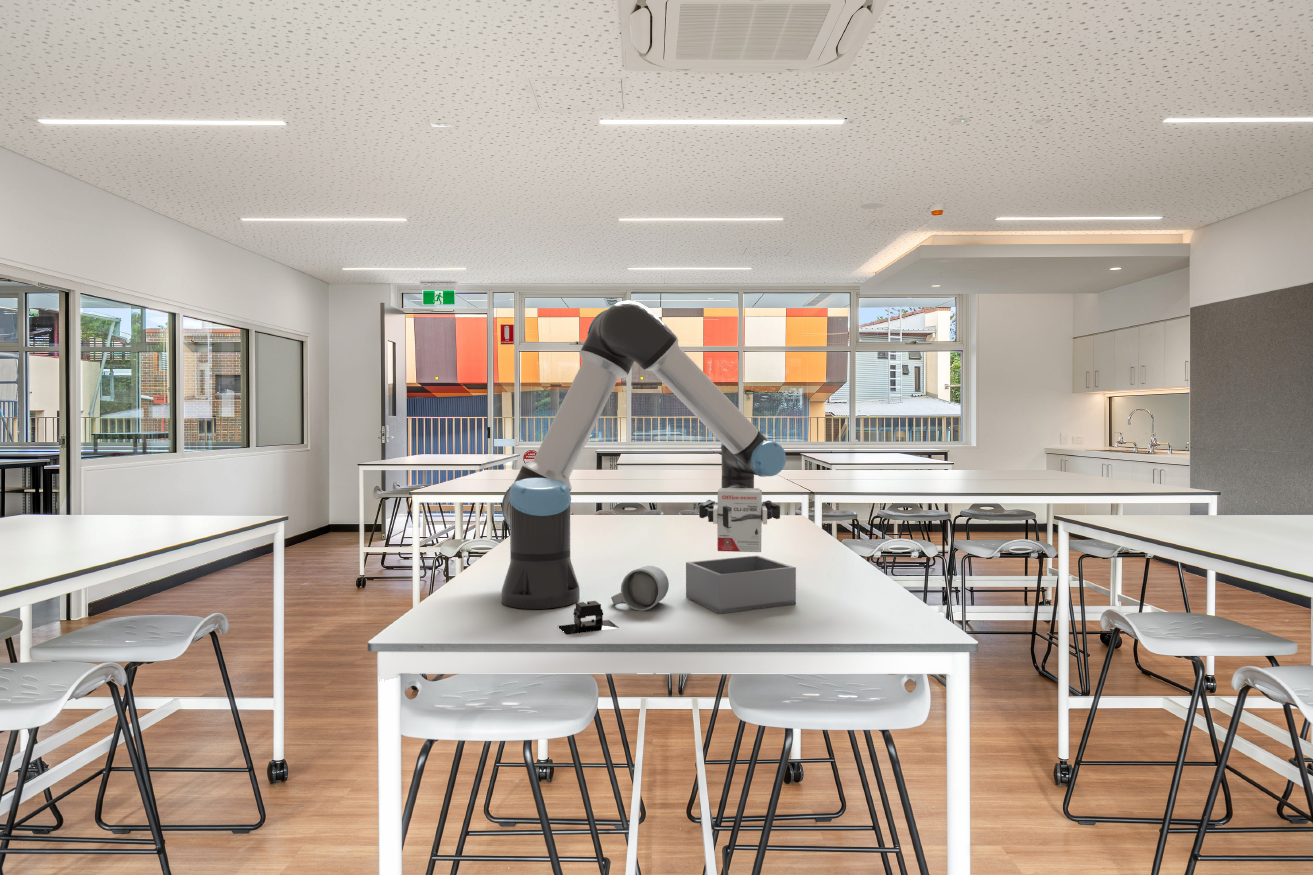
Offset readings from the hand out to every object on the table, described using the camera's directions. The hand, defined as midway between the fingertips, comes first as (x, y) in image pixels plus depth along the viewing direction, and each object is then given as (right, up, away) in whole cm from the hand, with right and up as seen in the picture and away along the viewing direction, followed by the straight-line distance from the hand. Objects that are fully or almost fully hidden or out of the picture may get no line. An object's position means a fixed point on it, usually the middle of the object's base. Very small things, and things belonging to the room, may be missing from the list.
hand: (740, 516), depth 136 cm
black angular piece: (-27, -18, -13) cm, 35 cm away
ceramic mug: (-19, -17, +2) cm, 26 cm away
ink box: (0, -7, +5) cm, 9 cm away
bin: (+1, -17, +5) cm, 18 cm away
